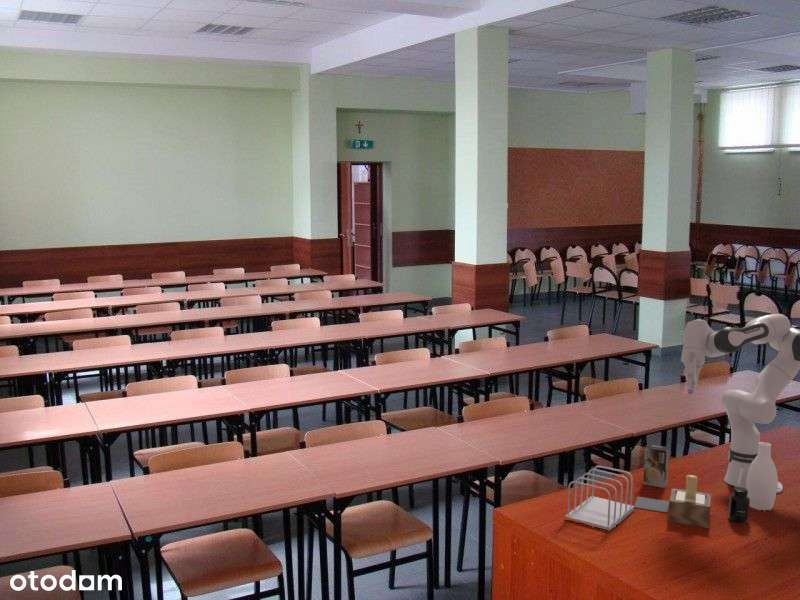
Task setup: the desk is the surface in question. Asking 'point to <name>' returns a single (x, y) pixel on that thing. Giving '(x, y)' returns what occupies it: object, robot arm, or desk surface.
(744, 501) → the supplement bottle
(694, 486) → the lid
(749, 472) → the bottle
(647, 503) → the mat
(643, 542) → the desk surface
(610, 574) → the desk surface
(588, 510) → the file sorter
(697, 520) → the box
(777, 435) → the desk surface
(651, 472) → the coffee box
